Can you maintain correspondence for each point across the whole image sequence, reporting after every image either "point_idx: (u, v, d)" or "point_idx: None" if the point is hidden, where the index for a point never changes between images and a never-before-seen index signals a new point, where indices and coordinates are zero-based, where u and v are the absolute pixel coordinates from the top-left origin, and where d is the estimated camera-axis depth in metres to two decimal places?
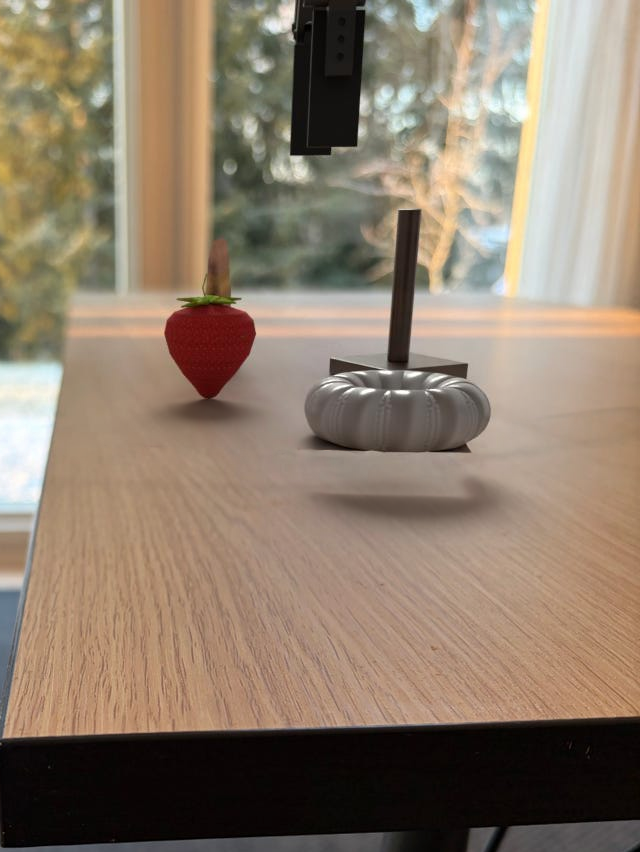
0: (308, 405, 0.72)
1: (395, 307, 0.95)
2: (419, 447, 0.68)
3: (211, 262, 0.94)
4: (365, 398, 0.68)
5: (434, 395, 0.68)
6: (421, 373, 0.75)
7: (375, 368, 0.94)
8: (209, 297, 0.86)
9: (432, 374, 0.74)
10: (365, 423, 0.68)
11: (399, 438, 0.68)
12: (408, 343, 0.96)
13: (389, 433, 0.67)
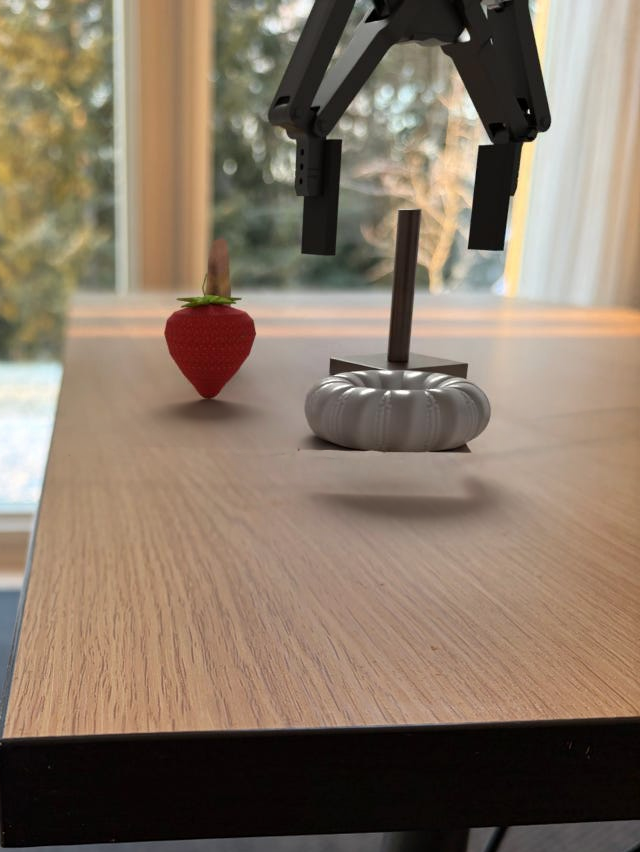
0: (308, 405, 0.72)
1: (395, 307, 0.95)
2: (419, 447, 0.68)
3: (211, 262, 0.94)
4: (365, 398, 0.68)
5: (434, 395, 0.68)
6: (421, 373, 0.75)
7: (375, 368, 0.94)
8: (209, 297, 0.86)
9: (432, 374, 0.74)
10: (365, 423, 0.68)
11: (399, 438, 0.68)
12: (408, 343, 0.96)
13: (389, 433, 0.67)
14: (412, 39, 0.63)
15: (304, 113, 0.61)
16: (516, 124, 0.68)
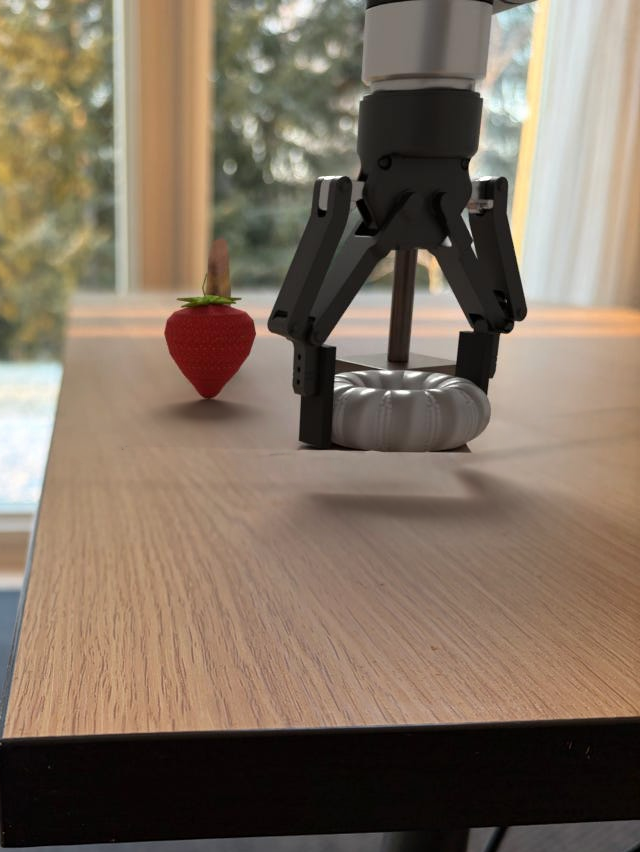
0: None
1: (395, 307, 0.95)
2: (419, 447, 0.68)
3: (211, 262, 0.94)
4: (366, 398, 0.68)
5: (434, 395, 0.68)
6: (422, 373, 0.75)
7: (375, 368, 0.94)
8: (209, 297, 0.86)
9: (432, 374, 0.74)
10: (366, 423, 0.68)
11: (399, 438, 0.68)
12: (408, 343, 0.96)
13: (389, 433, 0.67)
14: (398, 249, 0.67)
15: (301, 327, 0.66)
16: (494, 317, 0.72)
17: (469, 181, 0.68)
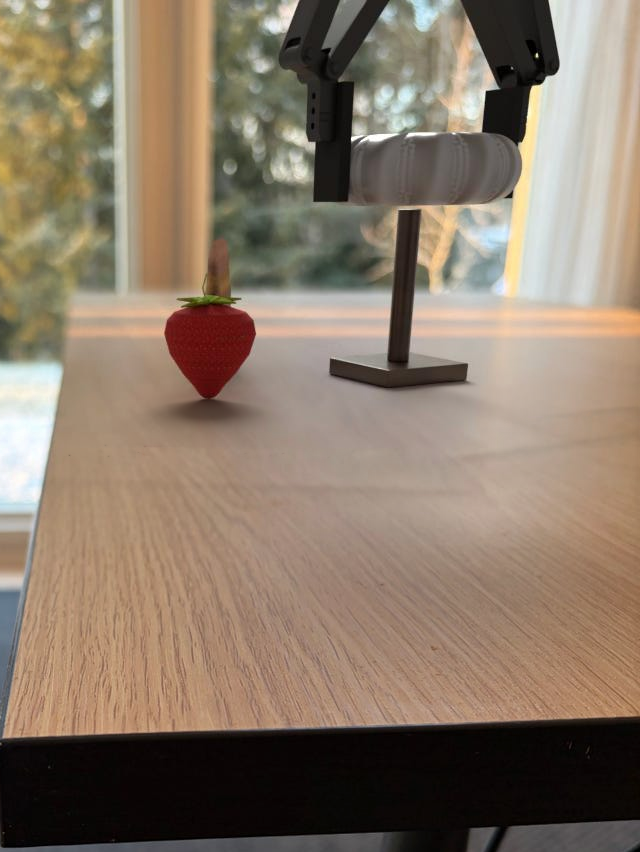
0: None
1: (395, 307, 0.95)
2: (445, 194, 0.62)
3: (211, 262, 0.94)
4: (386, 140, 0.62)
5: (461, 135, 0.62)
6: None
7: (375, 368, 0.94)
8: (209, 297, 0.86)
9: None
10: (386, 167, 0.62)
11: (424, 182, 0.62)
12: (408, 343, 0.96)
13: (413, 176, 0.62)
14: None
15: (315, 54, 0.60)
16: (524, 67, 0.67)
17: None
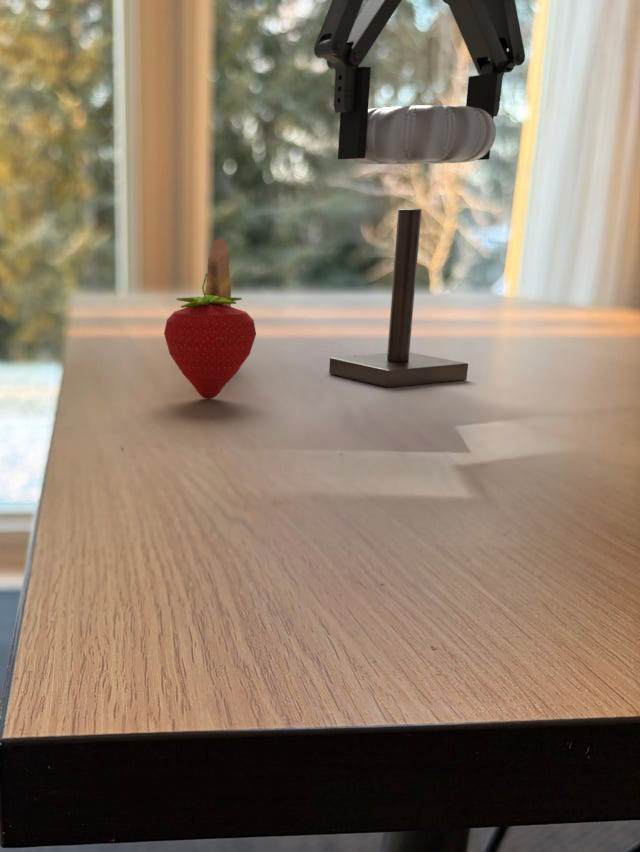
0: None
1: (395, 307, 0.95)
2: (438, 152, 0.83)
3: (211, 262, 0.94)
4: (394, 111, 0.83)
5: (450, 107, 0.83)
6: None
7: (375, 368, 0.94)
8: (209, 297, 0.86)
9: None
10: (394, 131, 0.83)
11: (422, 142, 0.83)
12: (408, 343, 0.96)
13: (414, 137, 0.83)
14: None
15: (342, 46, 0.81)
16: (498, 58, 0.88)
17: None
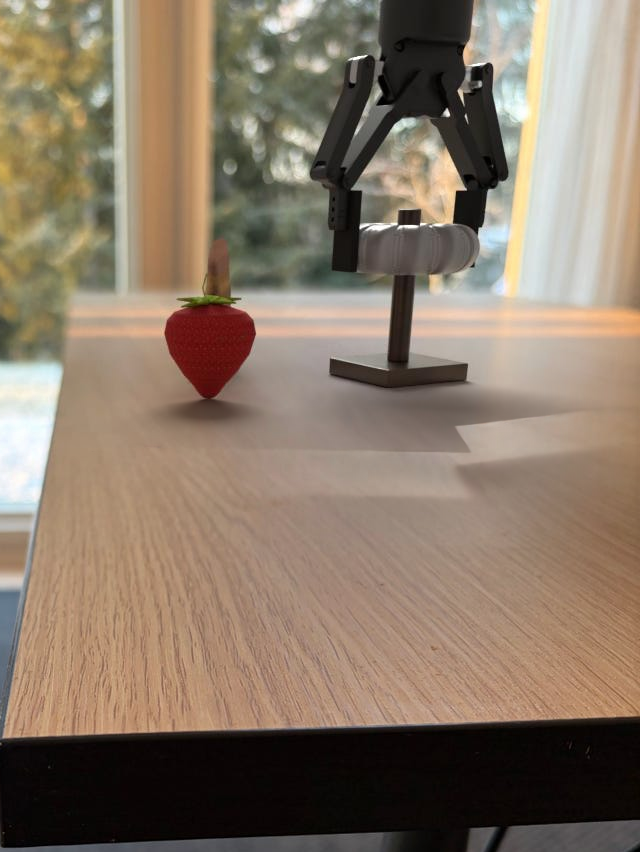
0: None
1: (395, 307, 0.95)
2: (424, 268, 0.89)
3: (211, 262, 0.94)
4: (384, 230, 0.89)
5: (436, 228, 0.89)
6: (426, 223, 0.96)
7: (375, 368, 0.94)
8: (209, 297, 0.86)
9: (434, 223, 0.96)
10: (384, 249, 0.89)
11: (409, 260, 0.89)
12: (408, 343, 0.96)
13: (402, 256, 0.89)
14: (409, 116, 0.89)
15: (336, 173, 0.87)
16: (483, 176, 0.93)
17: (463, 65, 0.89)
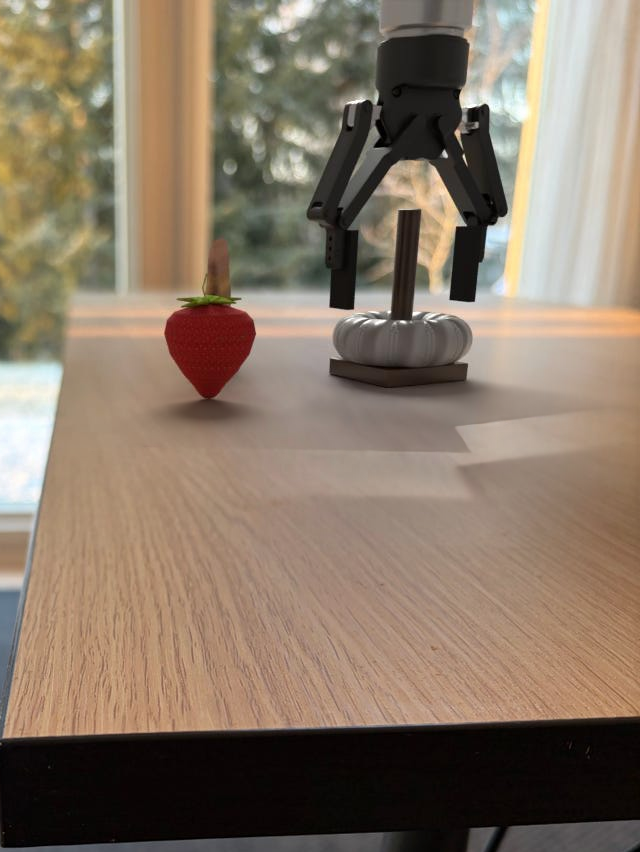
0: (336, 334, 0.96)
1: (395, 307, 0.95)
2: (419, 362, 0.92)
3: (211, 262, 0.94)
4: (379, 326, 0.92)
5: (430, 323, 0.92)
6: (421, 312, 0.99)
7: (375, 368, 0.94)
8: (209, 297, 0.86)
9: (429, 312, 0.99)
10: (379, 344, 0.92)
11: (404, 355, 0.92)
12: None
13: (397, 351, 0.92)
14: (407, 159, 0.90)
15: (332, 214, 0.88)
16: (482, 213, 0.95)
17: (460, 107, 0.90)
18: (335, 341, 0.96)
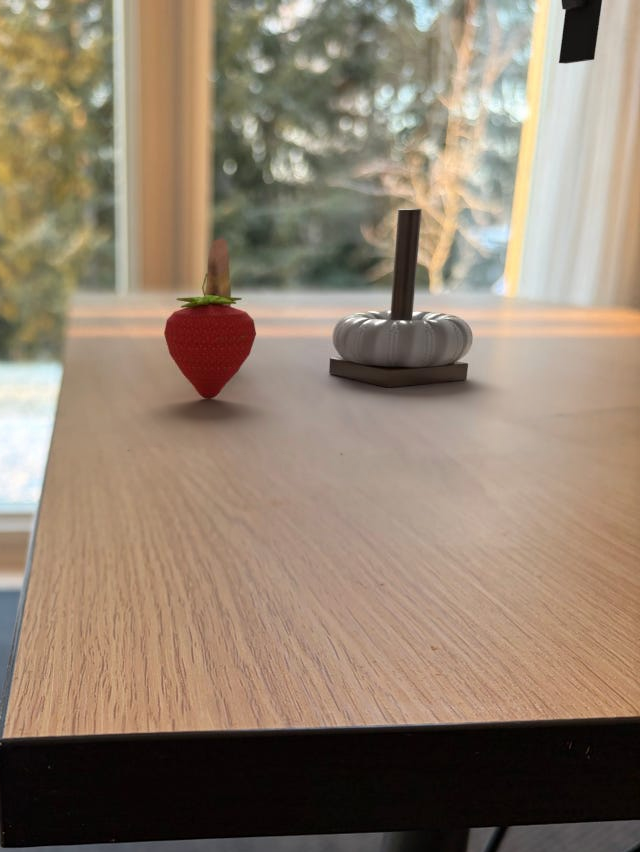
0: (336, 334, 0.96)
1: (395, 307, 0.95)
2: (419, 362, 0.92)
3: (211, 262, 0.94)
4: (379, 326, 0.92)
5: (430, 323, 0.92)
6: (421, 312, 0.99)
7: (375, 368, 0.94)
8: (209, 297, 0.86)
9: (429, 312, 0.99)
10: (379, 344, 0.92)
11: (404, 355, 0.92)
12: None
13: (397, 351, 0.92)
14: None
15: None
16: None
17: None
18: (335, 341, 0.96)
